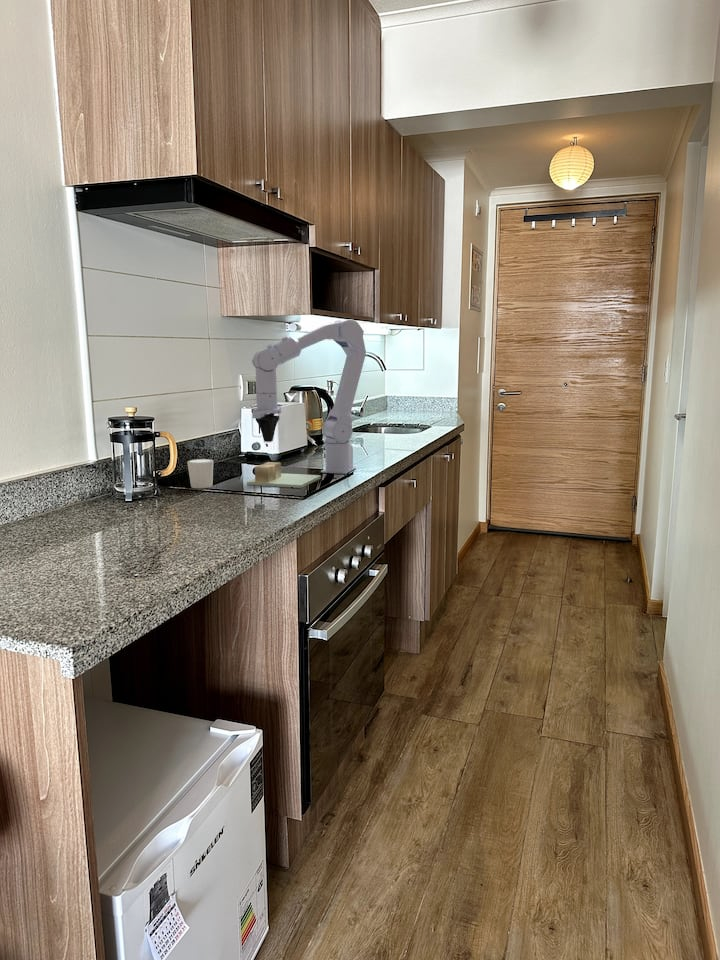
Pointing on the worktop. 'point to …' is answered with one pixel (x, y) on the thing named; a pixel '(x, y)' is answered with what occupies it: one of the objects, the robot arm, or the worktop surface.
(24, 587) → the worktop surface
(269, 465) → the maple block
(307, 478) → the cutting board
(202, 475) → the light grey cup
